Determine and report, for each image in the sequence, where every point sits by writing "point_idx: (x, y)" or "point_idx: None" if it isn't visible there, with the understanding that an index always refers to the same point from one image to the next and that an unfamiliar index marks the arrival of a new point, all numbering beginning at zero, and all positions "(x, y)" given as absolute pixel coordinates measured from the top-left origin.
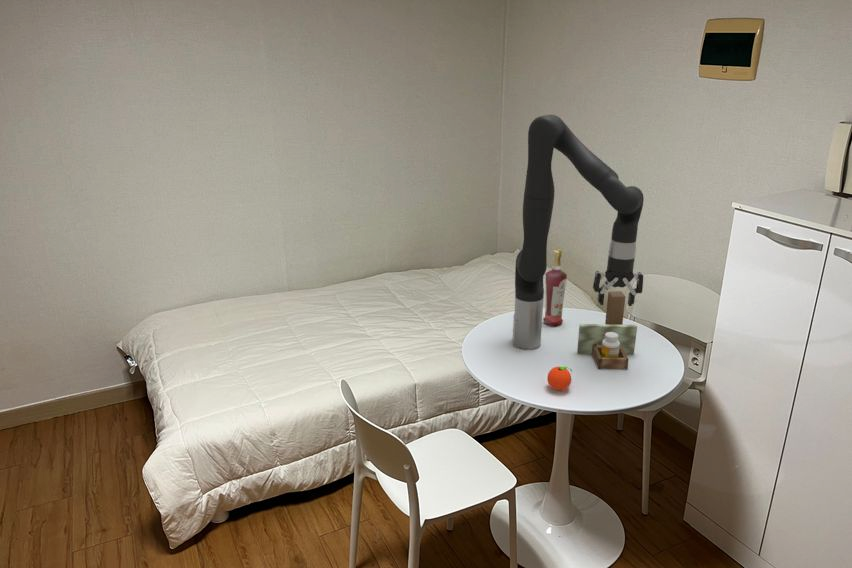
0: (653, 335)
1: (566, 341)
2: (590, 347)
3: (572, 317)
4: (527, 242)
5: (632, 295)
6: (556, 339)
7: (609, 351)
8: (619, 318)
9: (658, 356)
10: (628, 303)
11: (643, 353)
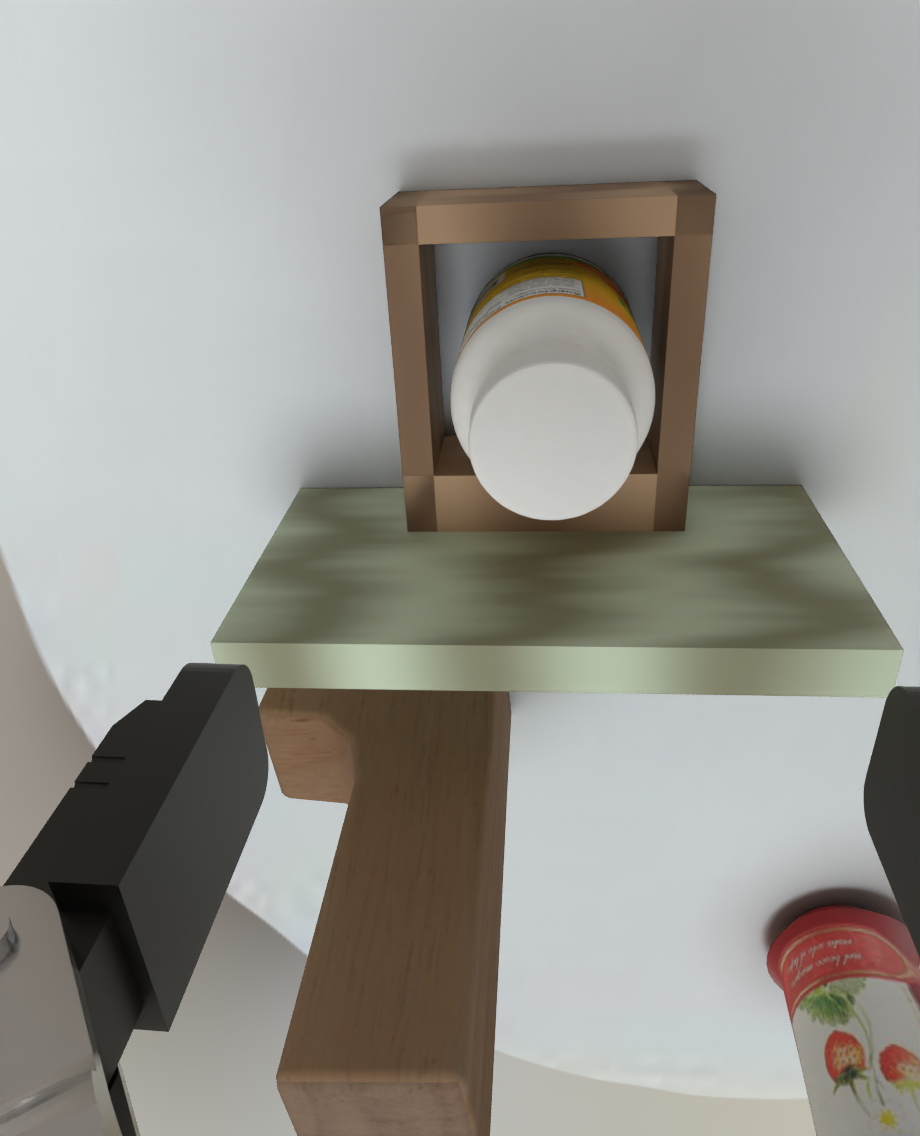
0: None
1: None
2: (700, 514)
3: (659, 997)
4: None
5: (67, 877)
6: None
7: (583, 290)
8: (382, 817)
9: (99, 467)
10: (251, 751)
11: (218, 513)
